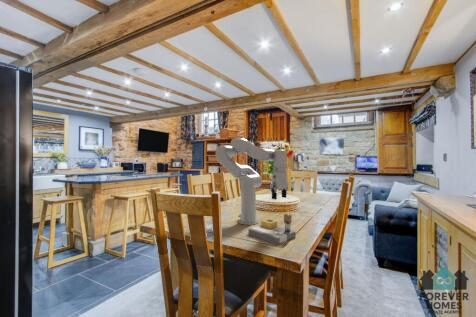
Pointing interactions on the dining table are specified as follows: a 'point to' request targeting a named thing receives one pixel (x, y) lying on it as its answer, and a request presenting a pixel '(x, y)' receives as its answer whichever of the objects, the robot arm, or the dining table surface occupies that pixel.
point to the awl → (287, 222)
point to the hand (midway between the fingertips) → (279, 198)
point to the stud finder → (269, 223)
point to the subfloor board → (272, 234)
